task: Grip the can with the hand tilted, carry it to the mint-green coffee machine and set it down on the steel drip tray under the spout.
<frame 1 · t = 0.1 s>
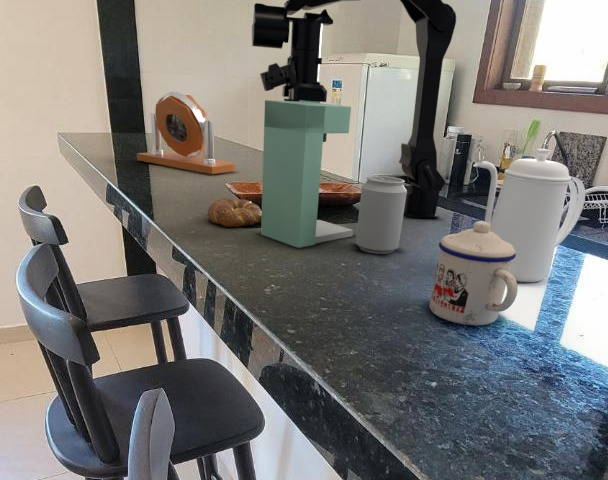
hand: (300, 138, 109), 15 cm above the counter, tool pointing down, fingers open, 9 cm apart
coffeepot: (509, 274, 86), on the counter
teacup with lid: (469, 318, 68), on the counter
pretzel: (234, 222, 104), on the counter
can: (376, 250, 93), on the counter
desk clock: (186, 167, 159), on the counter
coffee maker: (317, 234, 99), on the counter
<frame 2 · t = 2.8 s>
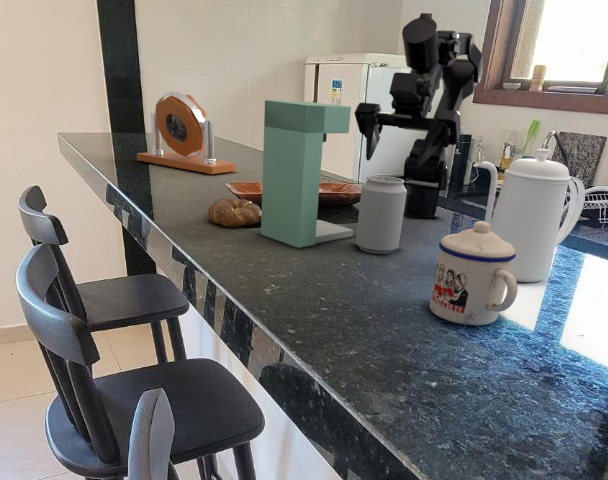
hand: (391, 162, 94), 14 cm above the counter, tool tilted 40°, fingers open, 9 cm apart
nothing on the counter moved.
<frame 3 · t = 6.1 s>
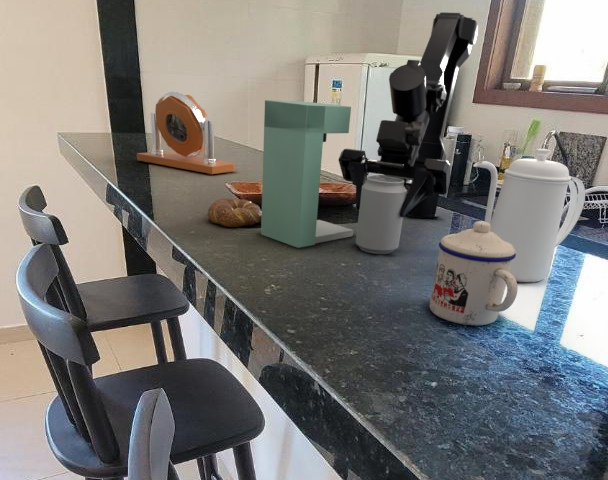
hand: (378, 212, 89), 7 cm above the counter, tool tilted 45°, fingers closed on can, 7 cm apart
can: (376, 250, 93), on the counter, touching gripper
everything else where it was.
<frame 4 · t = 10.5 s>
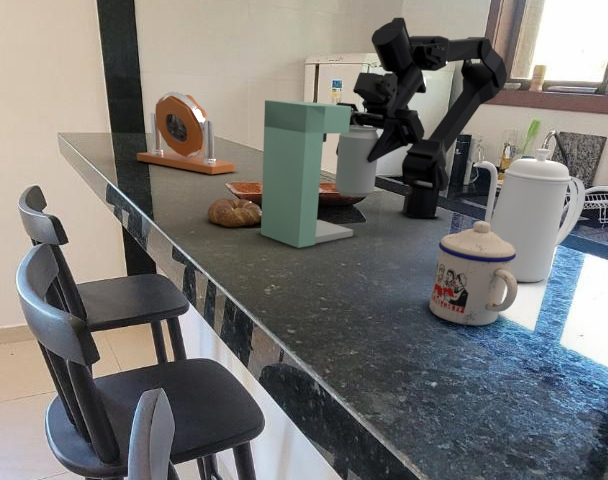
hand: (352, 157, 98), 13 cm above the counter, tool tilted 45°, fingers closed on can, 7 cm apart
can: (353, 195, 102), point 6 cm above the counter, touching gripper
everything else where it was.
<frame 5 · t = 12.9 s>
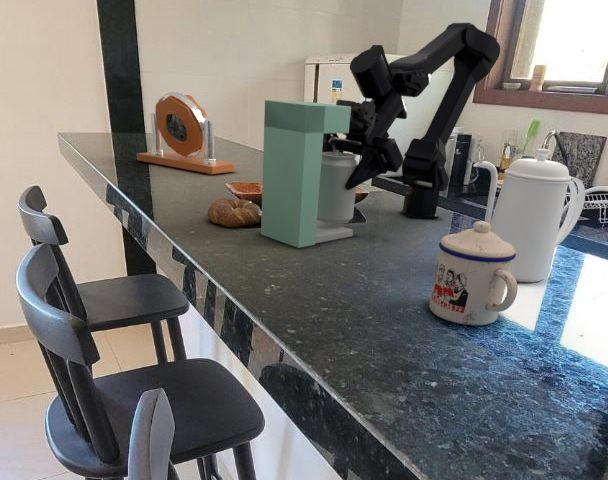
hand: (330, 184, 97), 9 cm above the counter, tool tilted 45°, fingers closed on can, 7 cm apart
can: (332, 221, 101), point 2 cm above the counter, touching gripper
everything else where it was.
when the fingers open (8 cm above the counter, at t = 14.8 s): can stays where it is, resting on coffee maker.
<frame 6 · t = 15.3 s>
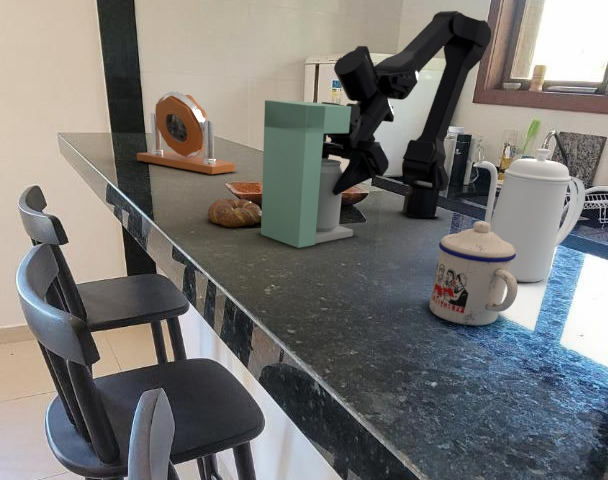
hand: (315, 188, 94), 8 cm above the counter, tool tilted 45°, fingers open, 9 cm apart
can: (318, 228, 99), point 1 cm above the counter, touching coffee maker
everything else where it was.
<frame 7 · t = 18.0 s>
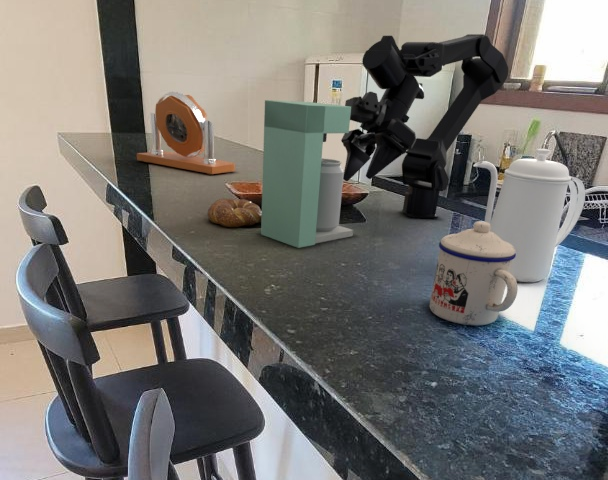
hand: (356, 179, 102), 9 cm above the counter, tool tilted 35°, fingers open, 9 cm apart
nothing on the counter moved.
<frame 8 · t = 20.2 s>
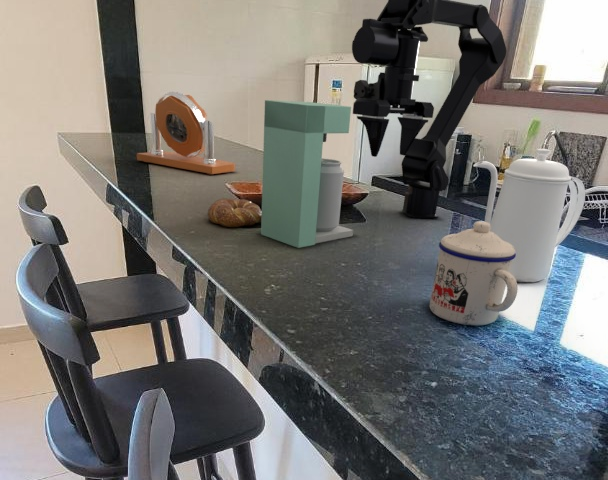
hand: (388, 155, 107), 13 cm above the counter, tool pointing down, fingers open, 9 cm apart
nothing on the counter moved.
at the end: can 0.2 cm off-centre on the coffee maker, point 1.0 cm above the coffee maker's base; can tilted 0°; the gripper is holding nothing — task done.
